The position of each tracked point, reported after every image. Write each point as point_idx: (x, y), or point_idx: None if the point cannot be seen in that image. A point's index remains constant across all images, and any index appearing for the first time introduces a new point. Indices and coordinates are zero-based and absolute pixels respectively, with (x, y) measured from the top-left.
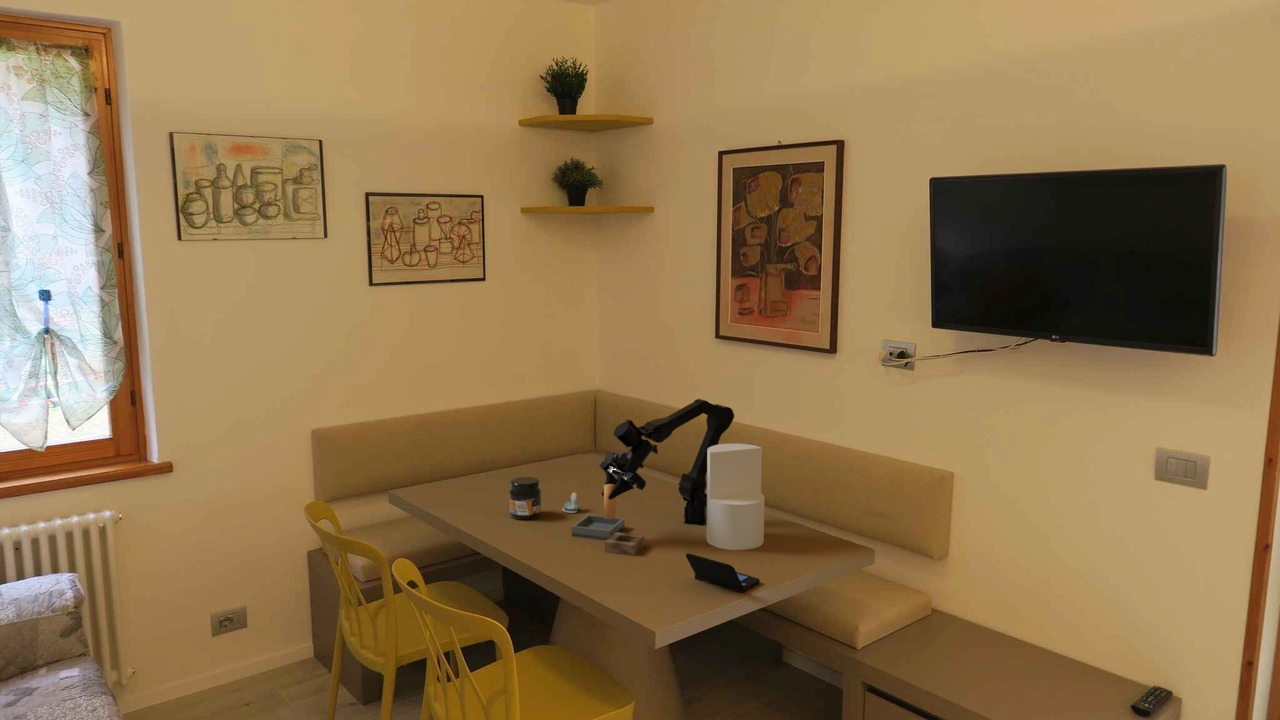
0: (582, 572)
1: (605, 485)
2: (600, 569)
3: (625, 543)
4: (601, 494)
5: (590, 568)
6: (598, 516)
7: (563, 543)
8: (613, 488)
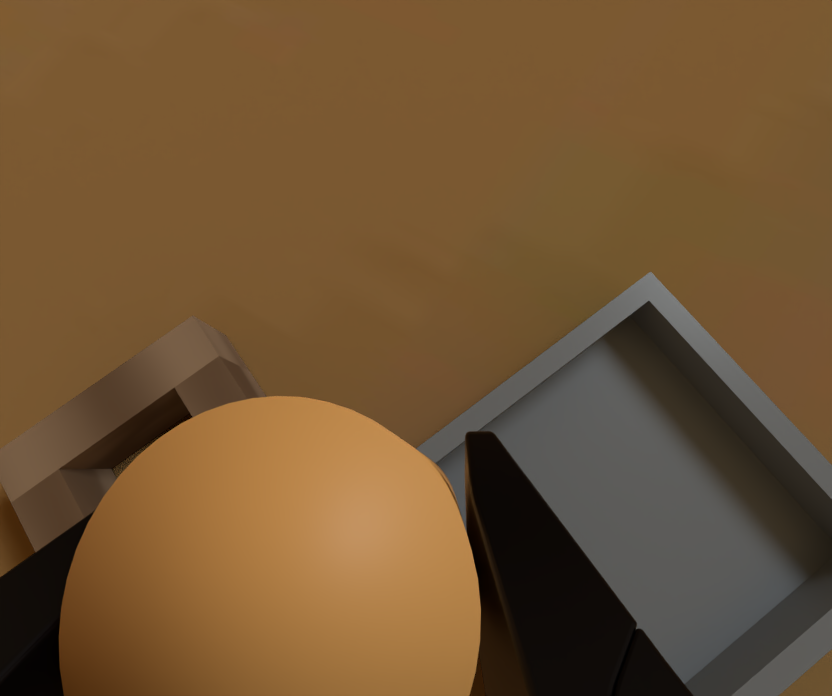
0: (54, 85)
1: (367, 486)
2: (19, 177)
3: (60, 426)
4: (488, 431)
5: (68, 141)
6: (816, 627)
7: (515, 190)
8: (54, 599)
